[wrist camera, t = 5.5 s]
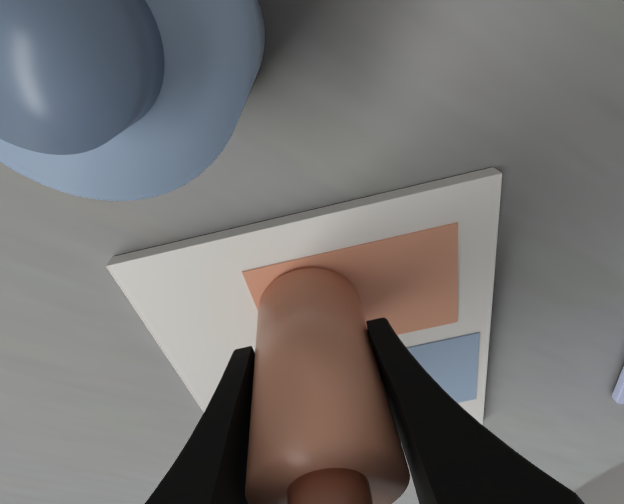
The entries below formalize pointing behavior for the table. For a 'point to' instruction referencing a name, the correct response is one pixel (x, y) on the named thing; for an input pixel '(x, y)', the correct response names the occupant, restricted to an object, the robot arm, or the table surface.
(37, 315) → the table surface
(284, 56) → the table surface
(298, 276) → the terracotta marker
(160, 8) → the slate marker
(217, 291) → the picture board
